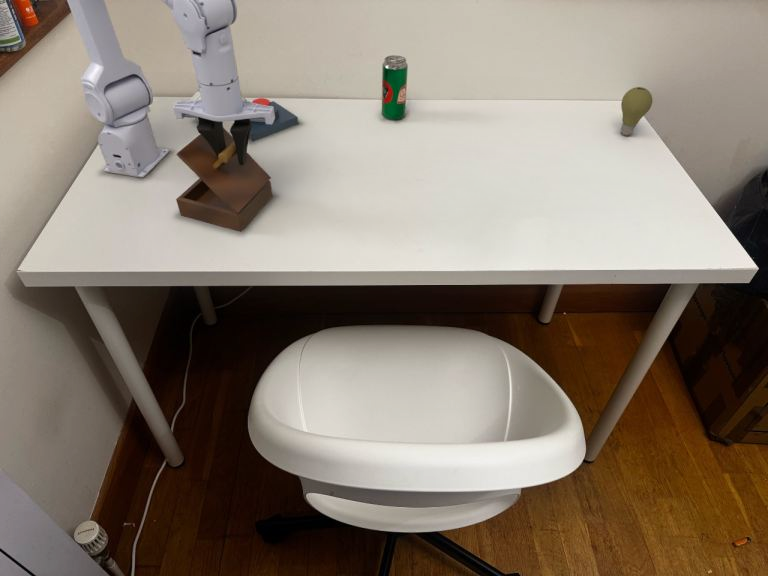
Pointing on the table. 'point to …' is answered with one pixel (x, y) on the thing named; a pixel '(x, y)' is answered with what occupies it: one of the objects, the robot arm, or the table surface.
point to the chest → (220, 206)
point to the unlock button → (262, 101)
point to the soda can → (394, 87)
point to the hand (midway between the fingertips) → (234, 161)
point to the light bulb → (634, 108)
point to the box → (281, 122)
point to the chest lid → (225, 171)
